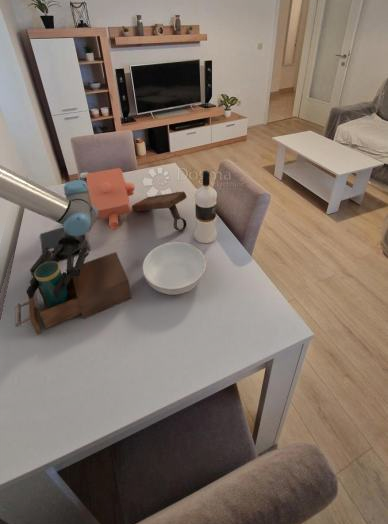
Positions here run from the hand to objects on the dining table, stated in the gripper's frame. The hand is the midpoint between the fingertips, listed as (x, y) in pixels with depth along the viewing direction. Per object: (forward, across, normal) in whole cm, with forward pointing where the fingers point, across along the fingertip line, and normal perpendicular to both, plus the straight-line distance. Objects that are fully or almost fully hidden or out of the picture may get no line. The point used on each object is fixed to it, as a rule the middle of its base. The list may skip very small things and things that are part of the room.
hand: (42, 294), depth 74 cm
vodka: (-38, -45, -13) cm, 60 cm away
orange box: (-56, -3, -10) cm, 57 cm away
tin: (-5, 0, -11) cm, 12 cm away
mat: (-35, +12, -13) cm, 39 cm away
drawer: (-4, +2, -12) cm, 13 cm away
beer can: (-72, +14, -13) cm, 74 cm away
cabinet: (-11, -11, -13) cm, 20 cm away
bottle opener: (-51, -25, -13) cm, 59 cm away
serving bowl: (-17, -34, -13) cm, 40 cm away
